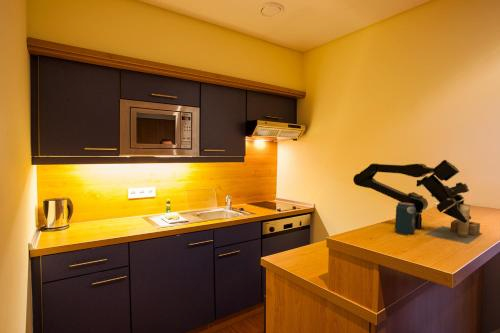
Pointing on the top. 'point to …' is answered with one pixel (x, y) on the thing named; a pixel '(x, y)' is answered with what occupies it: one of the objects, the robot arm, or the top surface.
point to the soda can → (405, 218)
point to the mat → (451, 235)
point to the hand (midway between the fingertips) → (468, 220)
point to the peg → (461, 225)
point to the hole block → (472, 231)
